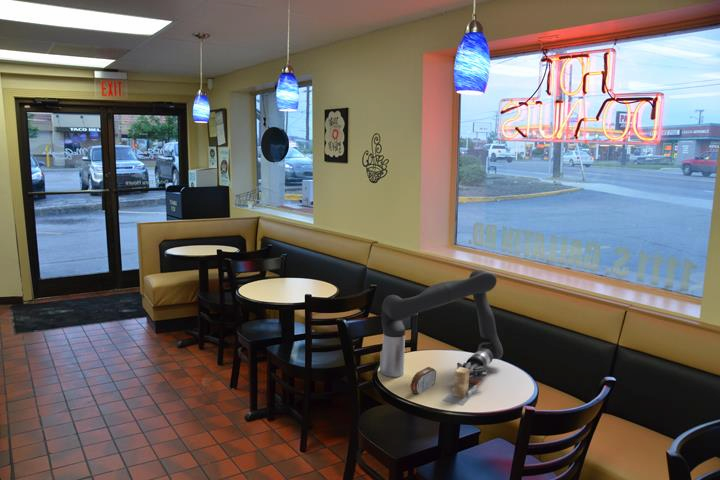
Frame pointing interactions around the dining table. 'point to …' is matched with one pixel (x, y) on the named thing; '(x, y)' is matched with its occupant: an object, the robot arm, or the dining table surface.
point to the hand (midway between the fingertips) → (463, 376)
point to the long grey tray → (462, 401)
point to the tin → (423, 380)
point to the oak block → (461, 382)
